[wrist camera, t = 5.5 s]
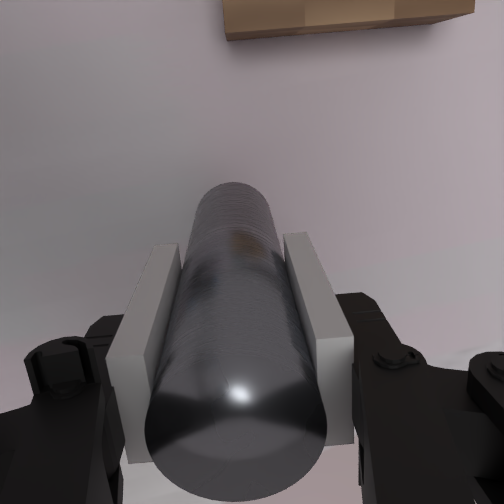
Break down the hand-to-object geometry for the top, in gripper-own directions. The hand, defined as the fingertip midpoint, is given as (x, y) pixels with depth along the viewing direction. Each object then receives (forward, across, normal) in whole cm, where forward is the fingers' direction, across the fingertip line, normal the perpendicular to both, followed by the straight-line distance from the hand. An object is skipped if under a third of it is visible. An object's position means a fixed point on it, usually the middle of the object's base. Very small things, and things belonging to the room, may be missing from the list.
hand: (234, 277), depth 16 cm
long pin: (+7, 0, 0) cm, 7 cm away
